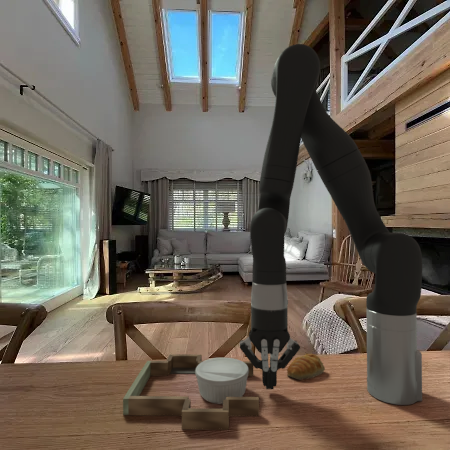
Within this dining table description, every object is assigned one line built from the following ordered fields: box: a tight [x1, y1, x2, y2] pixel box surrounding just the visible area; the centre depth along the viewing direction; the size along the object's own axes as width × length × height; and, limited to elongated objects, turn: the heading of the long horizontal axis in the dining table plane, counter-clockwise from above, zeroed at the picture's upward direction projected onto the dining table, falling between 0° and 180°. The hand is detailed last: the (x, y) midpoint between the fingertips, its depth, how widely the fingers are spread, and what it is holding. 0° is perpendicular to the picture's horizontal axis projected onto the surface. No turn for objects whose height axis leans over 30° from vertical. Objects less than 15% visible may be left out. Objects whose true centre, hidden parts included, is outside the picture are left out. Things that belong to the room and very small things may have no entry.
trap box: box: [122, 353, 260, 431], centre depth 68 cm, size 25×25×3 cm
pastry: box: [286, 353, 325, 381], centre depth 76 cm, size 9×7×4 cm
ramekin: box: [194, 357, 249, 405], centre depth 68 cm, size 11×11×5 cm
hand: (269, 387), depth 67 cm, fingers closed
